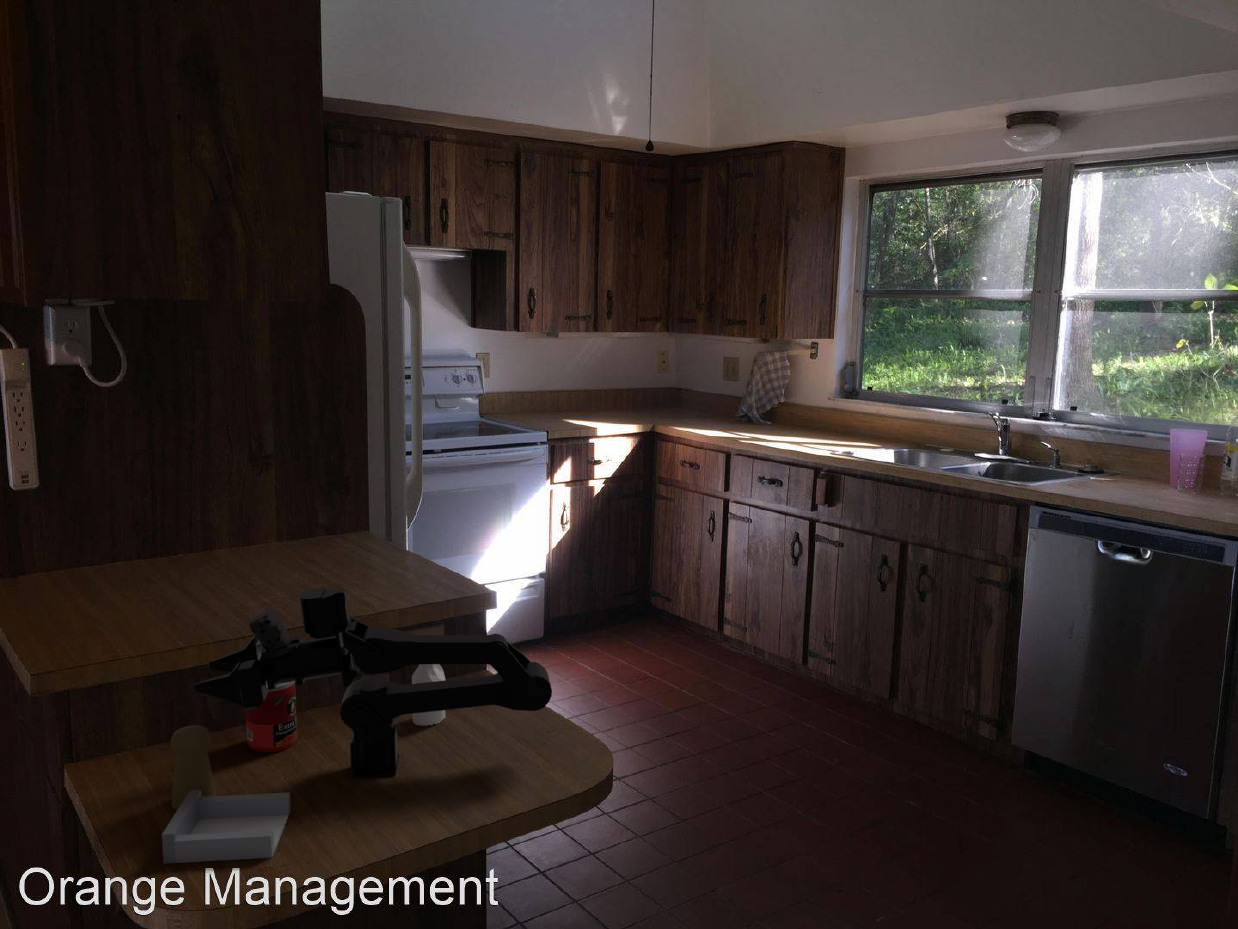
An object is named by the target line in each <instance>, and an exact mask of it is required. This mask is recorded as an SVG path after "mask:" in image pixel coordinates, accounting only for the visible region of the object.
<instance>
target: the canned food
mask: <svg viewBox="0 0 1238 929" xmlns="http://www.w3.org/2000/svg"><path fill="white" fill-rule="evenodd" d="M266 685H267V682H266ZM267 691H268V693H267V696H266V698H265V700H264V702H263V703H262V704H261V706H260V707H259V708H258V709H251V710H245V722H246V723H245V724H246V725H245V726H246V741H247V745H248V746H249V748H250V749H251V750H253V751H255V752H259V753H275V752H281V751H284V750H287V749H289V748H290V747H292V746H294V745H295V744H296V741H297V737H298V726H297V725H298V721H297V720H298V719H297V699H296V698H297V694H296V681H293V682H287V683H280V684H277V686H276V688H275V689H270V690H268V686H267Z"/></svg>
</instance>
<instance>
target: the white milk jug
mask: <svg viewBox="0 0 1238 929" xmlns="http://www.w3.org/2000/svg"><path fill="white" fill-rule="evenodd" d="M445 680H446V676H445V672H444V669H443V667H442V666H441V664H418V666H417V668H416V669H415V671H414V672H413V674H412V676H411V684H416V683H426V682H435V681H445ZM444 718H445V719H446V710H443V711H434V712H425V713H415V714H412V723H413V724H414V725H416V726H419V725H420V726H421V727H426V726H427V727H428V725H430V726H434V725H433V724H436V725H439V724H441V723H442V722H441V721H442V720H443V719H444ZM440 722H441V723H440ZM438 723H439V724H438Z"/></svg>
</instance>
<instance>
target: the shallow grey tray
mask: <svg viewBox="0 0 1238 929" xmlns="http://www.w3.org/2000/svg"><path fill="white" fill-rule="evenodd" d="M290 794H291V793H290V792H275V793H254V794H252V793H251V794H233V795H232V794H231V795H216V796H207V797H201V790H192V791H189V793H188V794H187V796H186V797H185V799H184V800H183V802H182V804H181V805H180V807H179V808H178V810H176V812H175V813H174V815H173V816H172V818H171V819H170V821H169V822H168V824H167V826H166V827H165V829H164V830H163V832H162V833H161V839H162V840H161V841H162V857H163V858H162V859H163V865H164V864H179V863H181V864H182V863H184V864H185V863H199V862H213V861H214V862H217V861H232V860H234V861H235V860H252V859H270V858H273V856H274V853H275V851H276V849H277V846H278V844H279V842H280V839H281V836H282V834H283V832H284V830H285V826H286V825H285V824H287V822H288V820H287V819H289V817H290V815H291V796H290ZM289 814H290V815H289ZM288 816H289V817H288Z"/></svg>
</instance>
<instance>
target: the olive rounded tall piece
mask: <svg viewBox="0 0 1238 929" xmlns="http://www.w3.org/2000/svg"><path fill="white" fill-rule="evenodd" d="M210 743H211V734H210V731H209V730H208V729H207V728H206V727H205V726H203V725H198V724H197V725H187V726H183V727H180V728H179V729H177V730H175V731H174V732H173V734H172V736H171V739H170V747H171V749H172V752H173V753H175V762H174V772H173V775H174V776H173V782H172V783H173V784H172V795H171V798H172V799H171V806H172V808H173V809H175V810H176V811H177V810H178V808H179V807H180V805H181V804H182V802H183V800H184V799H185V797H186V796H187V794H188V793H189V791H192V790H201V797H207V796H217V792H216V788H215V782H214V777H213V773H212V768H211V763H210V758H209V753H208V748H209V746H210Z"/></svg>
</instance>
